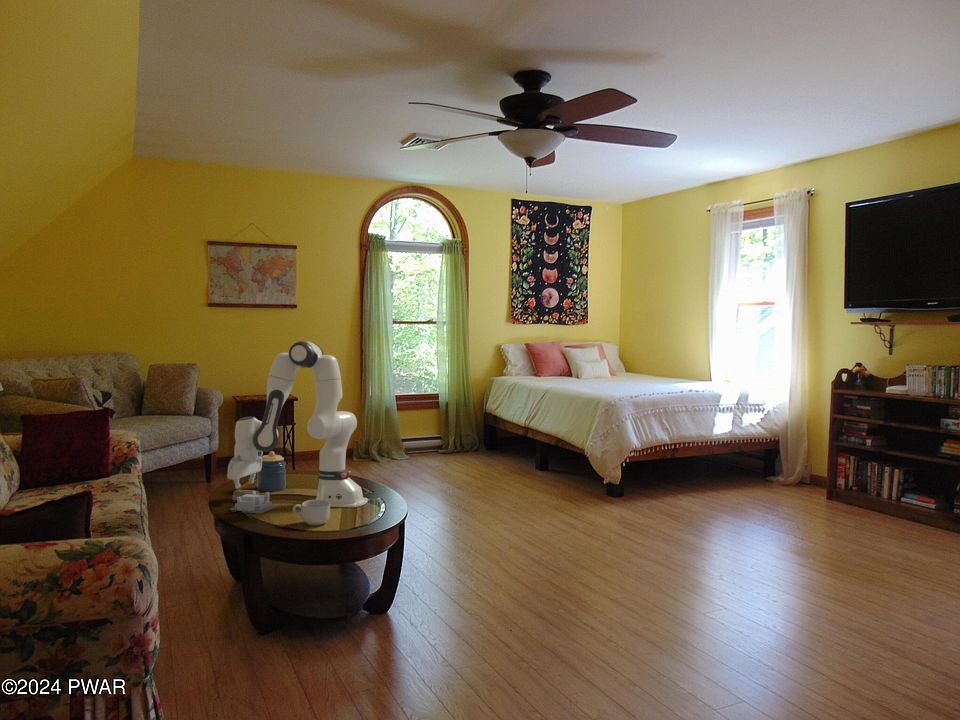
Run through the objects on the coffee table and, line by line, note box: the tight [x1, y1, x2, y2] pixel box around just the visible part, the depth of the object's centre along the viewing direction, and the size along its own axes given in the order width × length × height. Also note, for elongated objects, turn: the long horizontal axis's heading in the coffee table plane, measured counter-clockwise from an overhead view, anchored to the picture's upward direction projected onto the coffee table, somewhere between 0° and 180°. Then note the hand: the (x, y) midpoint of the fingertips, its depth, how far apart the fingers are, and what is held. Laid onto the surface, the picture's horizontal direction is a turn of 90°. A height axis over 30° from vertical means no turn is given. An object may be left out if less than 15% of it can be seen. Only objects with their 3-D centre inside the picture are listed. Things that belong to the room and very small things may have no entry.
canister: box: [256, 450, 287, 492], centre depth 312 cm, size 13×13×18 cm
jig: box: [229, 490, 277, 515], centre depth 275 cm, size 14×12×6 cm
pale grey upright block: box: [241, 494, 265, 505], centre depth 275 cm, size 8×4×4 cm, turn 77°
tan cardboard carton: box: [232, 488, 260, 501], centre depth 289 cm, size 4×10×4 cm, turn 76°
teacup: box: [292, 499, 331, 526], centre depth 256 cm, size 14×11×8 cm
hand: (244, 485), depth 289 cm, fingers open, 8 cm apart
